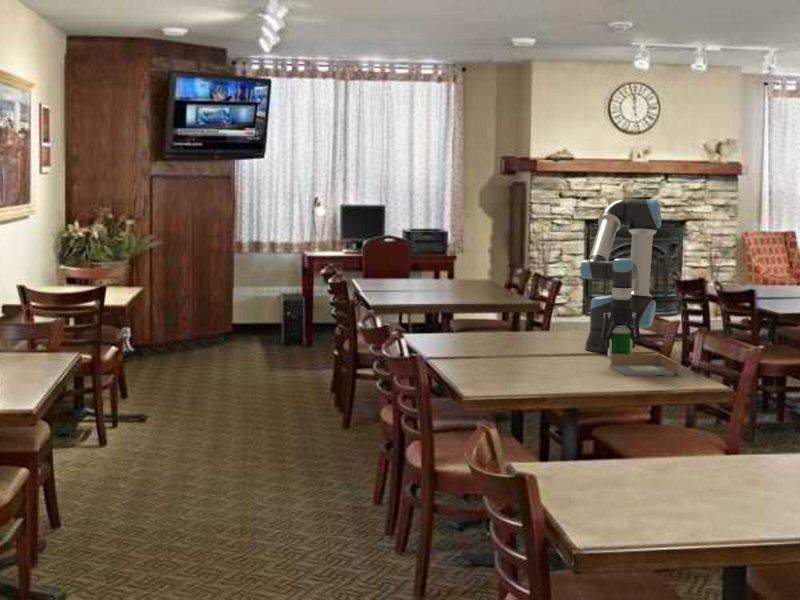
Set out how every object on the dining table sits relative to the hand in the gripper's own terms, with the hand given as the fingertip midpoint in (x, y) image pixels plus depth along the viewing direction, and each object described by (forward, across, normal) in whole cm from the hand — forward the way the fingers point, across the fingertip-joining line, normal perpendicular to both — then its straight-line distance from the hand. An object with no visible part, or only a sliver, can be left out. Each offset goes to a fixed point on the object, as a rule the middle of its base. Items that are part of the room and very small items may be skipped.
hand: (619, 356), depth 416 cm
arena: (+3, +5, -17) cm, 18 cm away
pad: (+3, +5, -17) cm, 18 cm away
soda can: (+1, 0, 0) cm, 1 cm away
